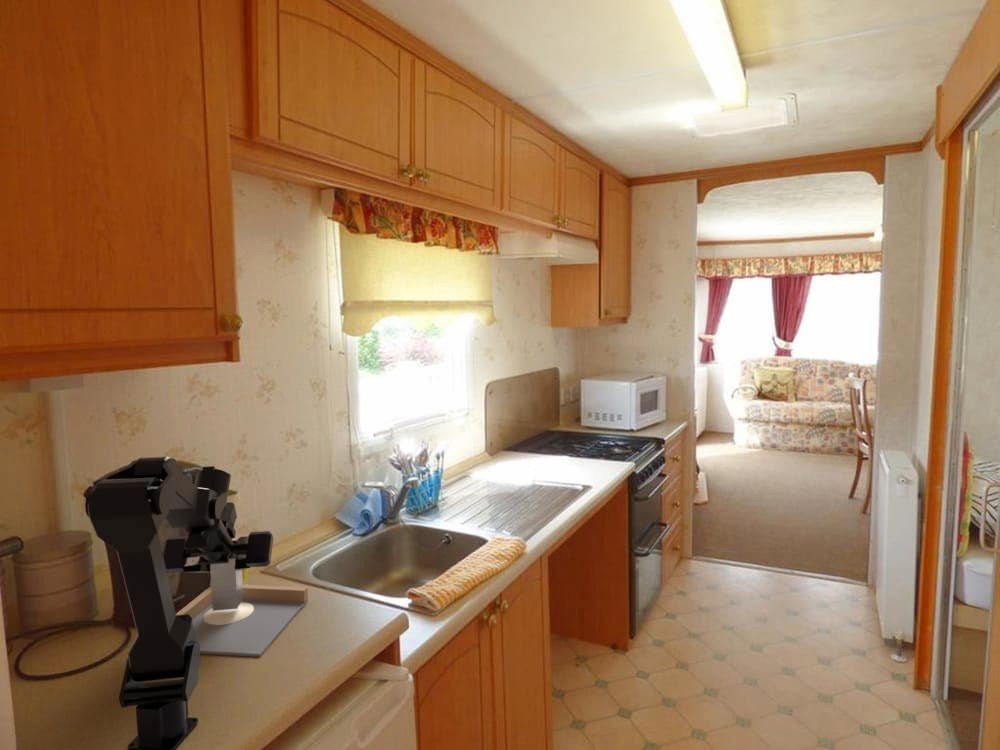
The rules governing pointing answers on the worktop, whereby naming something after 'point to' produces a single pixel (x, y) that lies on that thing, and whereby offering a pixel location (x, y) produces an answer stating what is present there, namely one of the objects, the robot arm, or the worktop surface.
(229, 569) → the aluminium post
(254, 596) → the corner arena
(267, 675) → the worktop surface
